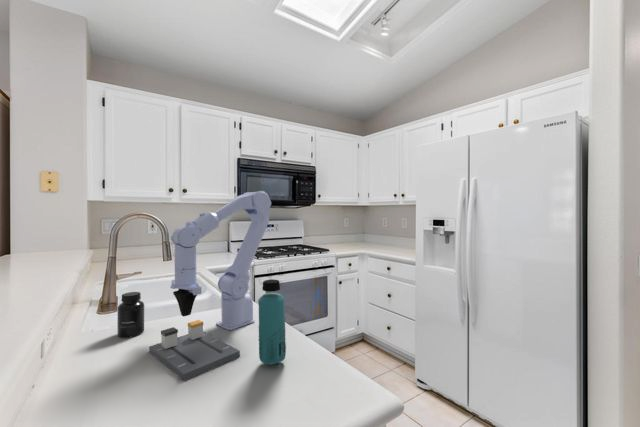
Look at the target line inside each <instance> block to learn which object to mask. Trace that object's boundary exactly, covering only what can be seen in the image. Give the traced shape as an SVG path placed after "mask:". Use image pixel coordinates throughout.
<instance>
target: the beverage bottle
mask: <svg viewBox="0 0 640 427" xmlns="http://www.w3.org/2000/svg"><path fill="white" fill-rule="evenodd" d="M280 284H281V282H280V279H266V280H264V281H263V282H262V288H261V289H262V291H263V292H267V293H263V294H262V295H261V296H260V297H259V298H258V300H257V302H258V357H259V361H260V363H263V364H266V365H276V364H280V363H282V362H283V361H284V360H285V358H286V355H287V353H286V352H287V346H286V331H287V329H286V310H285V308H286V307H285V306H286V304H285V301H286V300H285V297H284V296H283V295H282V294H281V293H278V292H277V291H279V290H281V286H280Z"/></svg>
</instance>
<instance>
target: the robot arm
mask: <svg viewBox="0 0 640 427" xmlns="http://www.w3.org/2000/svg"><path fill="white" fill-rule="evenodd" d="M271 205H272V201H271V199H270V196H269V194H268V193H267V192H266V191H264V190H258V191H253V192H252V191H251V192H249V191H248V192H247V191H246V192H244V193H243V194H240V195H238V196H237V197H235V198H234V199H232V200H230V201H229V202H227V203H226V204H225V205H223V206H221V207H220V208H219V209H216V210H215V211H214V212H212V211H206V212H205V211H202V212H200V213H199V216H198V217H196V218H194V219H193V220H191V221H186V222H185V226H179V227H177V228H175V229H174V231H173V232H172V235H171V236H170V238H171V239H170V240H171V241H172V243H173V245H174V279H172V280H171V285H170V289H172V290H174V289H177V290H175V291H173V292H172V293H173V294H172V295H173V296H174V297H175V299H176V301H177V304H178V307H179V308H178V309H179V312H180V315H181V316H182V317H188V316H190V315H191V314H192V310H193V306H194V302H195V300H196V298H197V296H198V295H202V286H201V285H199V283H198V281H197V245H198V243H199V242H200V240H201V239H203V237H205V236H207V235H208V234H210V233H212V232H213V231H214V230H216V229H217V228H219V226H220V222H222V221H223V220H224V219H228V218H229V217H230V216H232V215H234V214H235V213H237V212H239V211H241V210H244V211H245V213H246V214H247V215H248V216H249V218H250V221H251V222H250V224H249V226H248V230H247V232H246V233H245V236H244V237H243V238H244V239H243V240H242V242H241V245H240V247H239V249H238V252H237V254H236V256H235V258H234V260H233V263H232V264H230V266H229V267H228V268H227V269H226V270H225V272H224V274H222V275H221V276H220V278H219V279H218V281H217V288H218V290H219V291H220V292H221V296H220V297H221V298H220V302H221V321H217V322H216V323H215V325H217V326H220V327H221V328H223V329H225V330H227V331H231V330H232V331H233V330H235V329H237V328H241V327H244V326H248V325H249V324H252V323H255V320H254V310H253V309H254V303H253V297H252V296H251V295H250V294H249V293H248V291H249V282H250V280H251V275H250V271H249V270H250V267H251V265H252V262H253V260H254V258H255V256H256V253H257V250H258V249H259V247H260V244H261V242H262V239H263V236H264V235H265V232H266V230H267V228H268V225H269V223H270V208H271Z"/></svg>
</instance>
